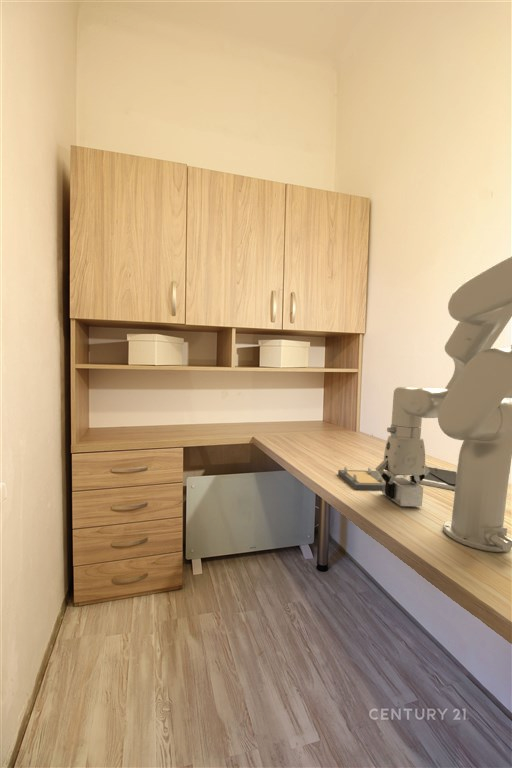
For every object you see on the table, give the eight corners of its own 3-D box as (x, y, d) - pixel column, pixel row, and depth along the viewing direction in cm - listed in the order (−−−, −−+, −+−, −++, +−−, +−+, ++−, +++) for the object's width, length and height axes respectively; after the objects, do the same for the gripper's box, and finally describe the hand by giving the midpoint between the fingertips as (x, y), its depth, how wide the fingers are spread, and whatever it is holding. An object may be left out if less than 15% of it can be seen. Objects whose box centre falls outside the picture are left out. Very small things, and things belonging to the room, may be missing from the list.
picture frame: (466, 495, 107) (460, 477, 126) (467, 486, 107) (461, 469, 126) (410, 484, 114) (412, 468, 133) (411, 475, 114) (413, 461, 133)
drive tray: (413, 490, 106) (414, 479, 105) (356, 489, 103) (357, 478, 103) (389, 475, 119) (390, 465, 119) (338, 474, 117) (338, 464, 116)
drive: (422, 506, 92) (423, 487, 92) (400, 506, 91) (402, 486, 91) (401, 493, 102) (402, 475, 102) (381, 492, 101) (383, 475, 101)
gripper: (383, 433, 91) (378, 502, 91) (443, 435, 93) (438, 502, 94) (369, 429, 98) (365, 492, 99) (425, 430, 101) (421, 492, 101)
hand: (400, 496), depth 96 cm, fingers closed on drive, 6 cm apart
